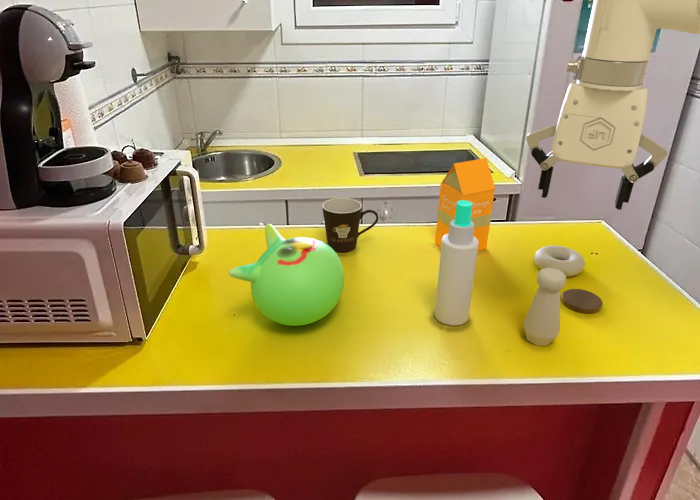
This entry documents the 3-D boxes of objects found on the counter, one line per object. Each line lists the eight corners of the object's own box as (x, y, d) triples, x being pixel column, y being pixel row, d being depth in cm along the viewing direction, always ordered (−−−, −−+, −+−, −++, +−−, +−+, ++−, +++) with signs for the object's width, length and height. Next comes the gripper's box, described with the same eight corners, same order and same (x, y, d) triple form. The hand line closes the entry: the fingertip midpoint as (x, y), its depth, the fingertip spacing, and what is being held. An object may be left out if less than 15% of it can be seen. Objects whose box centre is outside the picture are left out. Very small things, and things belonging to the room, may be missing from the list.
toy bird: (328, 350, 84) (326, 272, 78) (232, 335, 88) (223, 259, 81) (353, 292, 100) (354, 223, 93) (271, 281, 103) (266, 214, 97)
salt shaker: (546, 326, 90) (560, 261, 84) (563, 347, 85) (580, 279, 79) (514, 330, 90) (527, 264, 83) (530, 351, 85) (544, 282, 78)
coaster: (602, 299, 98) (604, 294, 98) (599, 317, 93) (600, 313, 92) (564, 289, 101) (565, 285, 101) (558, 307, 96) (559, 302, 95)
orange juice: (434, 242, 119) (442, 158, 110) (465, 235, 123) (475, 152, 113) (455, 257, 113) (465, 169, 104) (487, 248, 116) (499, 163, 107)
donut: (550, 283, 104) (593, 276, 106) (553, 268, 102) (597, 261, 104) (523, 259, 112) (564, 253, 114) (525, 245, 111) (567, 240, 113)
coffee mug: (316, 250, 115) (315, 209, 110) (332, 235, 122) (331, 195, 117) (365, 260, 111) (366, 218, 107) (378, 244, 118) (380, 203, 114)
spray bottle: (432, 307, 96) (443, 195, 85) (465, 308, 95) (480, 196, 85) (436, 326, 90) (448, 210, 80) (471, 327, 90) (487, 211, 80)
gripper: (535, 72, 65) (513, 199, 73) (693, 84, 59) (650, 221, 67) (541, 64, 71) (520, 182, 79) (685, 74, 65) (647, 201, 73)
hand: (580, 200), depth 73 cm, fingers open, 9 cm apart
